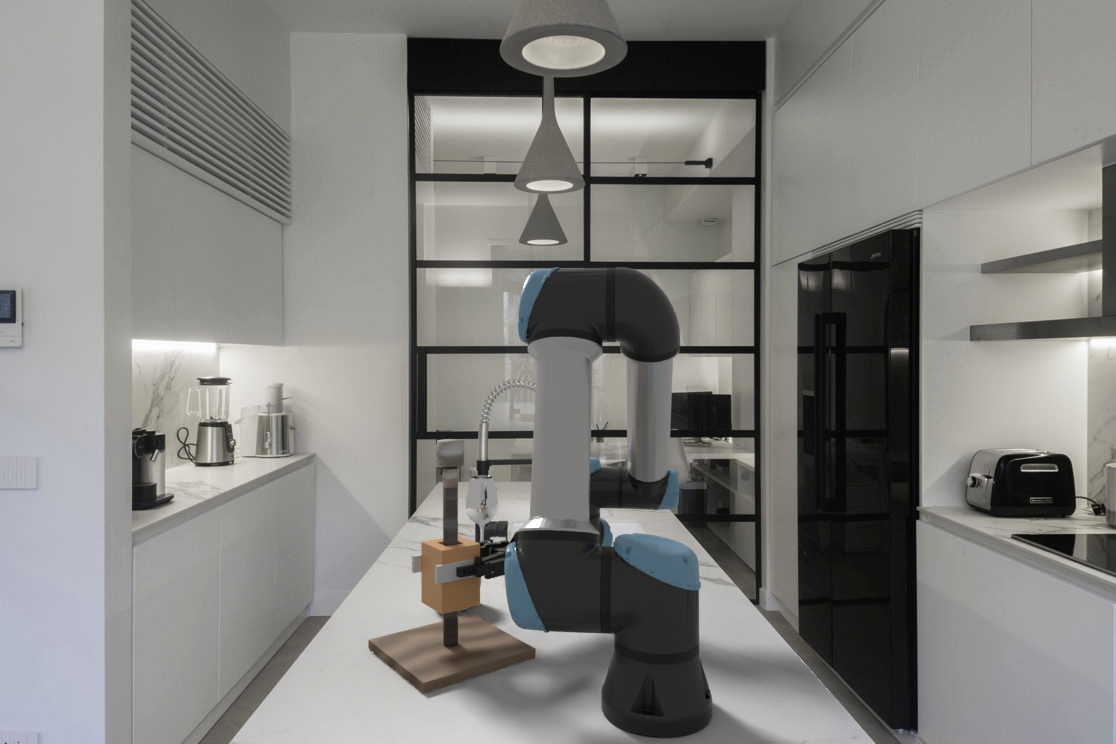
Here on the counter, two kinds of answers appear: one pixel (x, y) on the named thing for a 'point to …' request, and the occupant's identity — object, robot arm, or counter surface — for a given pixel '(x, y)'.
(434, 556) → the sleeve
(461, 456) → the stand
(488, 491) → the wineglass
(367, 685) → the counter surface
